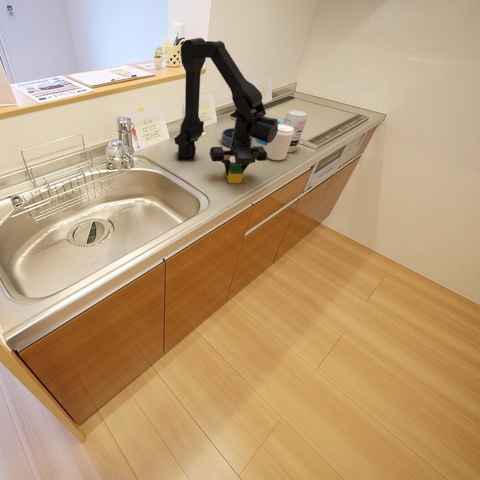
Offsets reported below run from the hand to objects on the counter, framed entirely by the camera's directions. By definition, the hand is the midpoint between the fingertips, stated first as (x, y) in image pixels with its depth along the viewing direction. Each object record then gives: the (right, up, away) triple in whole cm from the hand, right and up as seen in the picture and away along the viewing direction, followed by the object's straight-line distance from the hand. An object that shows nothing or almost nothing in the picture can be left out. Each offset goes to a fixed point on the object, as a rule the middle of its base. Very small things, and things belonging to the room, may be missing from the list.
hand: (233, 175), depth 100 cm
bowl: (+7, +20, +23) cm, 31 cm away
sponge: (0, -1, +1) cm, 1 cm away
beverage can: (+21, +11, +13) cm, 26 cm away
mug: (+23, +22, +25) cm, 41 cm away
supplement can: (+27, +16, +18) cm, 36 cm away
